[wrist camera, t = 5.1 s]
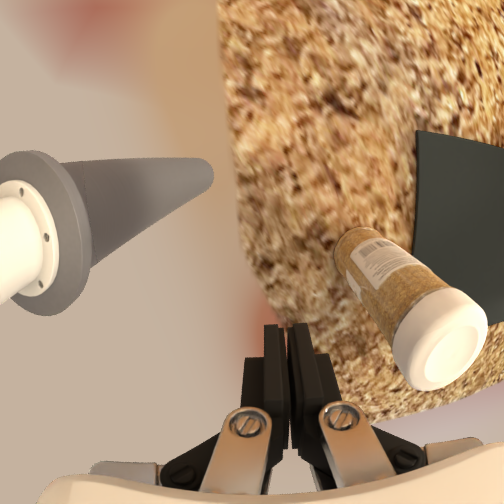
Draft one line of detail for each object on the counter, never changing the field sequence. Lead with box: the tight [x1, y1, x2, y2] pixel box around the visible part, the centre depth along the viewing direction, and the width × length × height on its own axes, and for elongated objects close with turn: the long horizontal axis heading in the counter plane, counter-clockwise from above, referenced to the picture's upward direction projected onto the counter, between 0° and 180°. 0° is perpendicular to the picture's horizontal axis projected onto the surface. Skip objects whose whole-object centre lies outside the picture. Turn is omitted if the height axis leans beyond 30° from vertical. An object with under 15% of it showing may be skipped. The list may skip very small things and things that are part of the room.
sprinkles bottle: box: [334, 227, 488, 391], centre depth 15 cm, size 5×5×13 cm
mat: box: [412, 130, 504, 326], centre depth 21 cm, size 18×20×1 cm
